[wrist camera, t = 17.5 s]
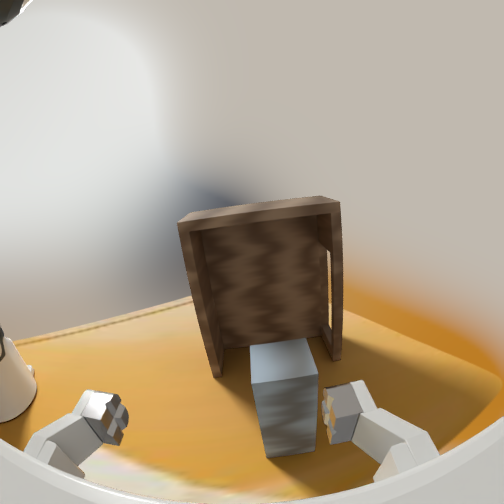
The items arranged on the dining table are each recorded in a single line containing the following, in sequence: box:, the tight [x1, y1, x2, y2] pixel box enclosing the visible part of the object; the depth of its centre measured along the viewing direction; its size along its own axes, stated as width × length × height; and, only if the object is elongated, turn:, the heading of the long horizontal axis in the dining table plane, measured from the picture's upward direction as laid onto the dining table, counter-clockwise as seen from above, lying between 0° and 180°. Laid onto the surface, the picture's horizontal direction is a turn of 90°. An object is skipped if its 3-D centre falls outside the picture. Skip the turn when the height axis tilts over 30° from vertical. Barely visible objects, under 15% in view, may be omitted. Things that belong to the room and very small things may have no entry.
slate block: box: [250, 338, 318, 458], centre depth 22 cm, size 5×5×12 cm
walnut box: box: [177, 196, 343, 377], centre depth 36 cm, size 18×8×22 cm, turn 92°
